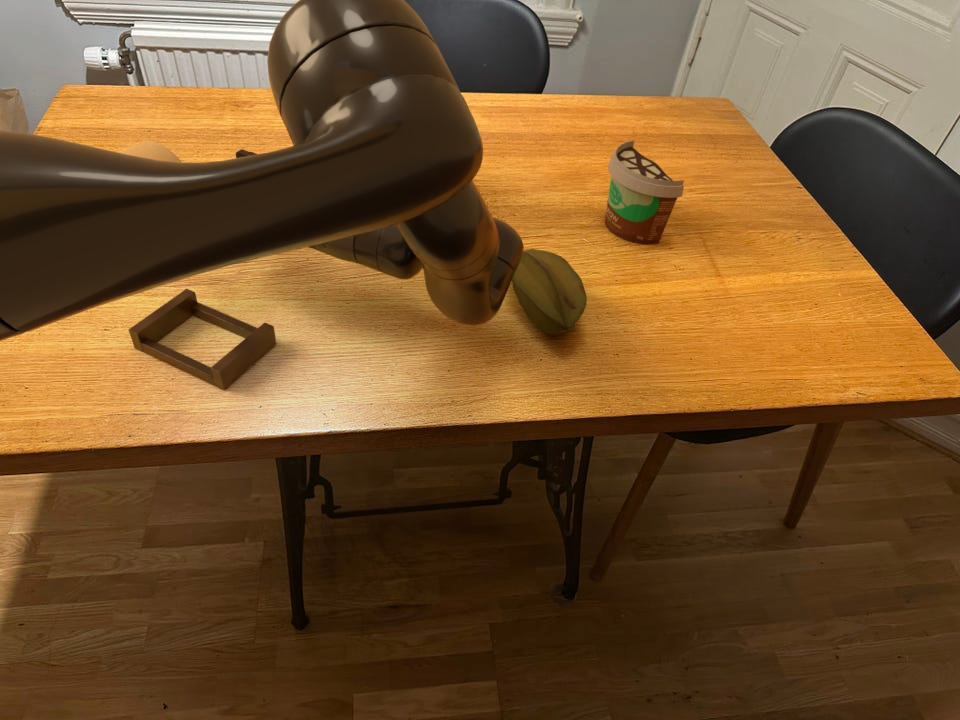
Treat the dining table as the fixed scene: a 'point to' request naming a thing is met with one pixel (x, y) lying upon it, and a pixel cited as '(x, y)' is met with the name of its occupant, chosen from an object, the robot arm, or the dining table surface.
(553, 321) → the fruit
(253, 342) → the holder
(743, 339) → the dining table surface
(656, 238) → the food container
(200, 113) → the dining table surface
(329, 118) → the robot arm
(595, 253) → the dining table surface
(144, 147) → the tape roll
